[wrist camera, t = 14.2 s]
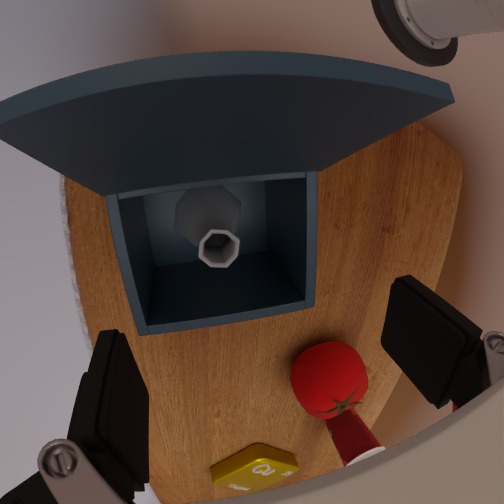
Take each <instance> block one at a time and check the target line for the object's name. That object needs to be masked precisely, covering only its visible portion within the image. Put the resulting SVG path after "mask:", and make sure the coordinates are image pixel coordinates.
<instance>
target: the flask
mask: <svg viewBox="0 0 504 504" xmlns="http://www.w3.org/2000/svg"><path fill="white" fill-rule="evenodd" d="M240 211H241V202H240V201H239V200H238V199H236V198H235V197H234V196H233V195H232V194H231V193H230V192H229V191H228V190H227V189H225V188H224V187H223V186H222V185H219V186H211V187H202V188H194V189H189V190H188V191H187V192H186V194H185V195H184V196H183V197H182V198H181V199H180V200H179V202H178V203H177V204H176V216H175V231H176V232H177V233H178V234H180V235H181V236H182V237H183V238H185V239H186V240H187V241H188V242H190V243H191V244H192V245H193V246H195V247H199V253H198V257H199V258H200V259H201V260H202V261H204V262H205V263H206V264H208V265H209V266H210V267H224V268H227V267H228V266H229V265H230V264H231V263H232V262H233V261H234V260H235V259H236V257H237V256H238V251H239V243H240V240H239V239H238V238H237V237H236V236H235V235H234V234H235V232H236V231H237V230H238V227H239V219H240Z"/></svg>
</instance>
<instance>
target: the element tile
mask: <svg viewBox="0 0 504 504" xmlns="http://www.w3.org/2000/svg"><path fill="white" fill-rule="evenodd" d="M298 470H299V466H298V463H297V461H296V458H295V456H294V455H293V454H291V453H288V452H285V451H282V450H279V449H276V448H273V447H270V446H267V445H264V444H259V443H257V444H253V445H250V446H248V447H247V448H245V449H243V450H242V451H240V452H238V453H236V454H234V455H233V456H231V457H229V458H227V459H225V460H223V461H222V462H220V463H218V464H216V465H214V466H212V467H211V468H210V472H211V477H212V482H213V484H214V485H216V486H220V487H225V488H229V489H234V490H239V491H244V492H250V493H255V492H258V491H260V490H262V489H264V488H266V487H268V486H270V485H273V484H275V483H276V482H278V481H280V480H282V479H284V478H286V477H288V476H290V475H292V474H294V473H295V472H297V471H298Z"/></svg>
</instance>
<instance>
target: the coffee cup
mask: <svg viewBox="0 0 504 504" xmlns="http://www.w3.org/2000/svg"><path fill="white" fill-rule="evenodd" d="M324 421H325V424H326V426H327V428H328V431H329V433H330V435H331V437H332V440H333V442H334V444H335V446H336V449H337V451H338V453H339V455H340V458H341V460H342V462H343V464H344V467H346V466H349V465H351V464H354V463H356V462H359V461H361V460H363V459H366V458H368V457H370V456H373V455H375V454H377V453H379V452H382V451H384V450H385V447H382V446H381V445H380V444H379V442H378V441H377V439H376V438H375V437H374V435H373V434H372V433H371V431H370V430H369V429H368V427H367V426H366V425H365V423H364V422H363V421H362V419H361V418H360V417H359V415H358V414H357V413H356V411H355V410H354V409H353V408H351V409H348V410H344V411H343V412H342V413H341V414H339V415H336V416H335V417H333V418H330V419H324Z"/></svg>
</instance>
